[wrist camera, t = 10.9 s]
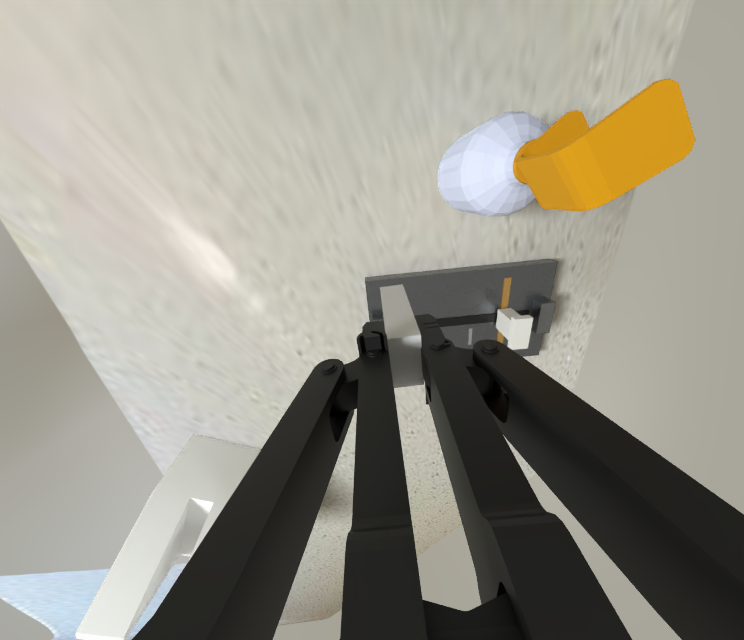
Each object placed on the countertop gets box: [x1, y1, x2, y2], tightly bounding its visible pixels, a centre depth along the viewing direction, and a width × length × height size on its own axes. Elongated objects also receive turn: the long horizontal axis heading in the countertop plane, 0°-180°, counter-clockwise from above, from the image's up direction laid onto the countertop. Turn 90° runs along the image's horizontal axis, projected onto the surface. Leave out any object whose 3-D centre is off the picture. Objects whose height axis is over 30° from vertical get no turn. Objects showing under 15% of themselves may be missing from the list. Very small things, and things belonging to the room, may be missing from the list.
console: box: [365, 259, 557, 357], centre depth 42 cm, size 16×28×4 cm, turn 96°
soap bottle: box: [438, 79, 695, 216], centre depth 24 cm, size 9×9×25 cm
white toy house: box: [76, 434, 261, 640], centre depth 48 cm, size 19×15×25 cm
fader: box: [496, 308, 533, 350], centre depth 39 cm, size 5×2×5 cm, turn 6°
